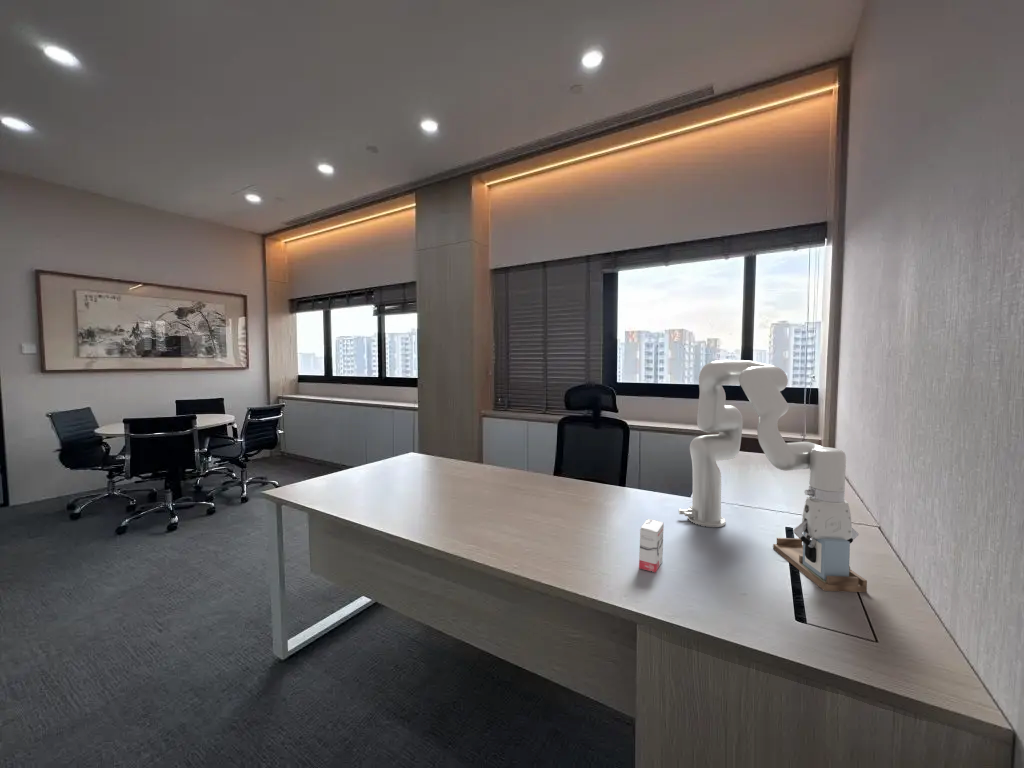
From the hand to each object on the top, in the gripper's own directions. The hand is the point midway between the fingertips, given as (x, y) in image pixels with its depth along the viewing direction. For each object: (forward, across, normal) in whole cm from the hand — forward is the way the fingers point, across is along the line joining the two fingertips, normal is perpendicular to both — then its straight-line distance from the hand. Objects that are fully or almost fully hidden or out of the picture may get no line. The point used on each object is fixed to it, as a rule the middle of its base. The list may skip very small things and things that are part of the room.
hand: (824, 560), depth 110 cm
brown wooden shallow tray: (+5, +1, +6) cm, 8 cm away
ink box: (+5, -44, +5) cm, 44 cm away
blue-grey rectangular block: (+3, 0, 0) cm, 3 cm away
